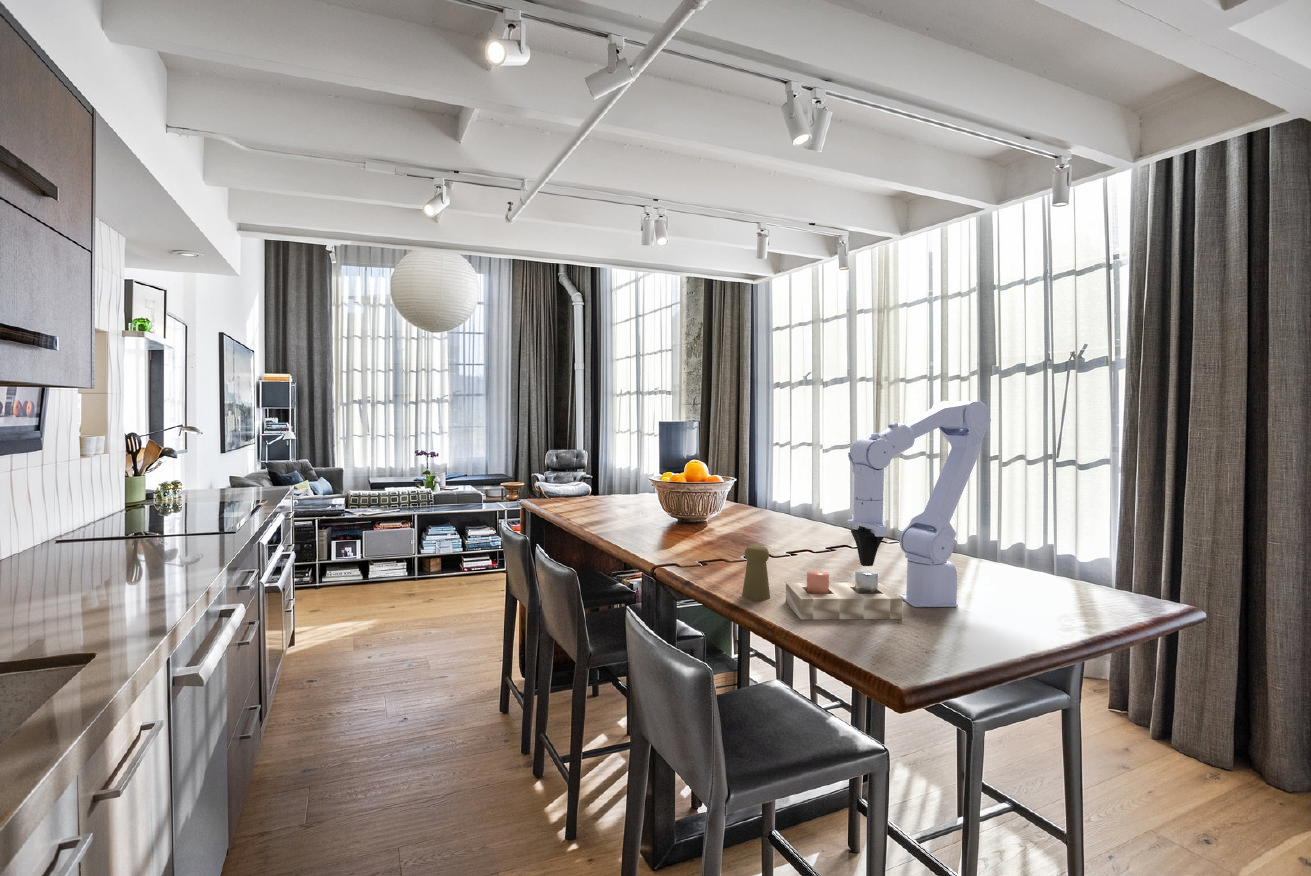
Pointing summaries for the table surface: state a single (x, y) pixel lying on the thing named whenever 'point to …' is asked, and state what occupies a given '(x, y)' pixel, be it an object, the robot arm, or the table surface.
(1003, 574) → the table surface
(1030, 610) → the table surface
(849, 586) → the button board
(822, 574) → the pink rounded cube
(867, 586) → the steel plunger
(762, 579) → the olive pawn
